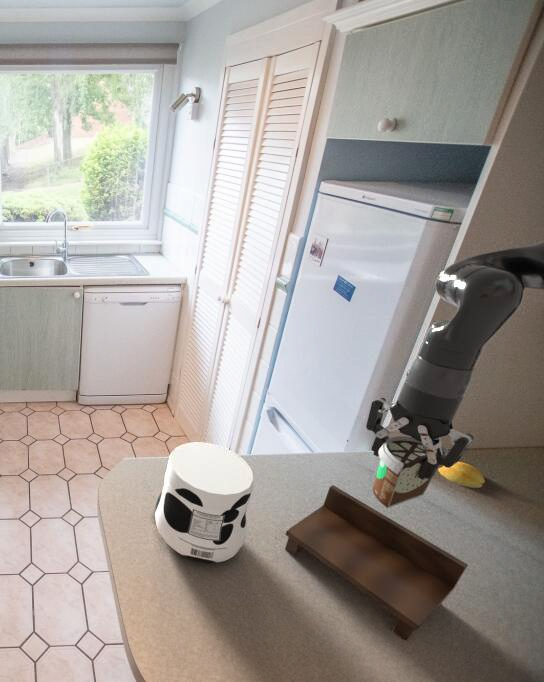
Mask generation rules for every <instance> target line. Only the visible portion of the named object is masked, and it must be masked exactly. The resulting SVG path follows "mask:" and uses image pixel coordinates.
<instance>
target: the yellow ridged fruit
mask: <svg viewBox="0 0 544 682" xmlns="http://www.w3.org/2000/svg"><path fill="white" fill-rule="evenodd" d="M437 471H438V472H439V474H440V475H441V476H443V477H444V478H446V479H447V480H448V481H450V482H452V483H454V484H456V485H459V486H462V487H466V488H473V489H476V488H482V487H483V484H485V482H486V481H485V478H484V476H483V474H482V472H480V470H478V469H477V468H476V467H474V466H473V465H471V464H468V463H466V462H463V461H458V462H457V463H456V464H454V465H453V466H452V467H450V468H447V467H445V466H443V465H442V466H440V467H438V469H437Z"/></svg>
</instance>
